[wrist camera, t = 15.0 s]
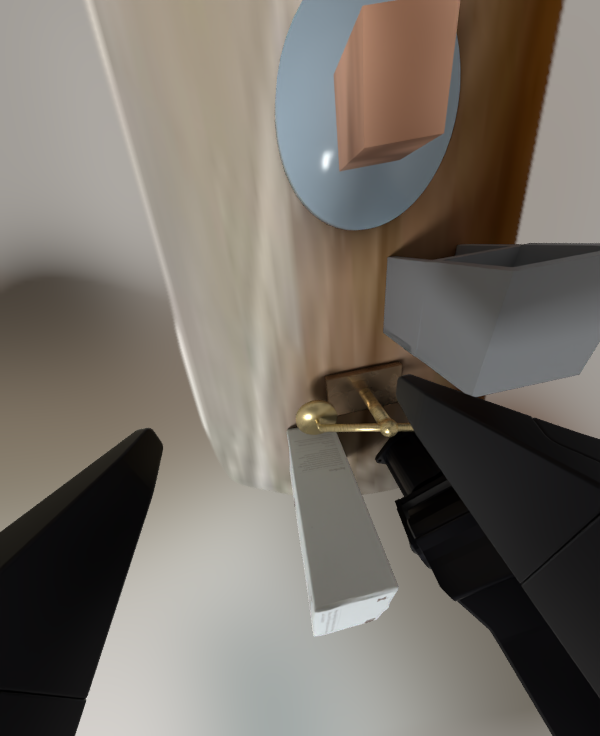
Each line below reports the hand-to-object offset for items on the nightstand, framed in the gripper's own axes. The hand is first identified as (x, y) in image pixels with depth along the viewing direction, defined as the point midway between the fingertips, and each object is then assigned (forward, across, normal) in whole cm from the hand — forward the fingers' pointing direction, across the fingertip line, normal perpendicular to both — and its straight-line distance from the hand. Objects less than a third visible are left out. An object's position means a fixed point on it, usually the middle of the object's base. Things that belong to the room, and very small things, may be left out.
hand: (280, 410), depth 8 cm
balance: (+12, -8, +10) cm, 18 cm away
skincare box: (+13, -2, +18) cm, 22 cm away
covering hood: (+7, -14, 0) cm, 15 cm away
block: (+12, -8, -10) cm, 18 cm away
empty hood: (+12, -14, 0) cm, 18 cm away
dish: (+12, -8, -10) cm, 18 cm away
